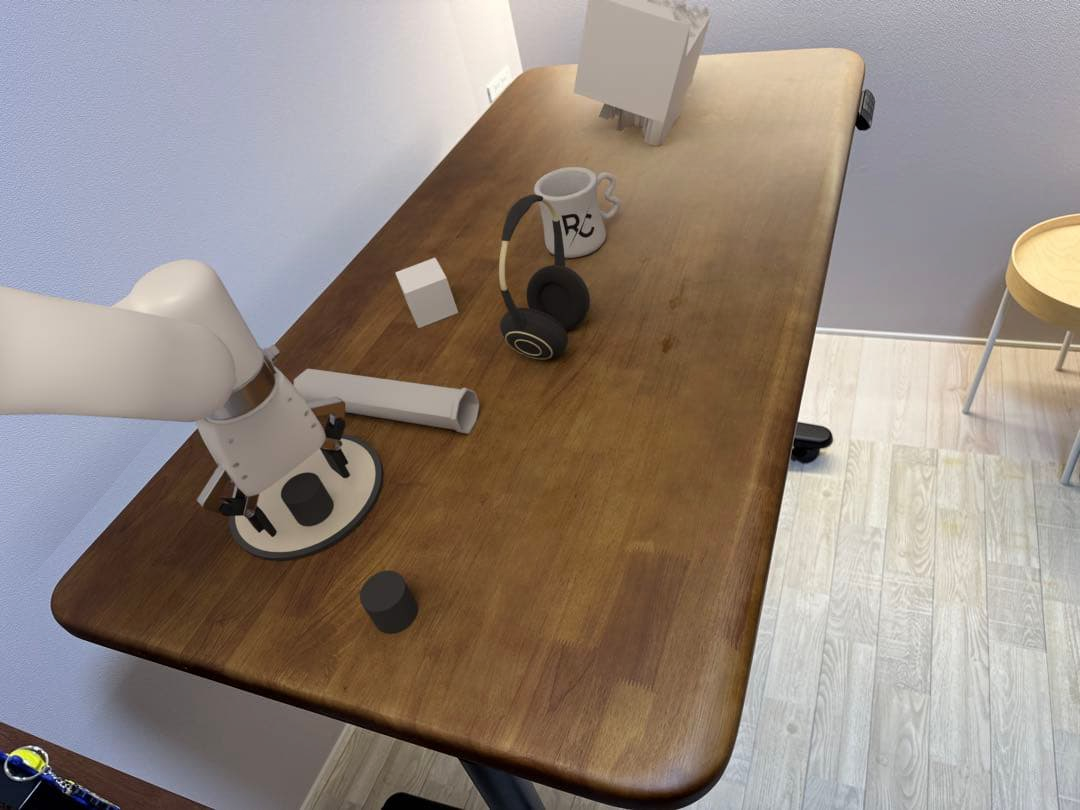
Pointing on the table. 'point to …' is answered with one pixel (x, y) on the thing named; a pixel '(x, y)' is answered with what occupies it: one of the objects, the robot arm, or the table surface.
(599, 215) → the mug
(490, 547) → the table surface
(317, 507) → the eye dot
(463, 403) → the tube
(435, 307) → the white cube
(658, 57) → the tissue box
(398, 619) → the eye dot
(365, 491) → the face circle
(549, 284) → the headphones
